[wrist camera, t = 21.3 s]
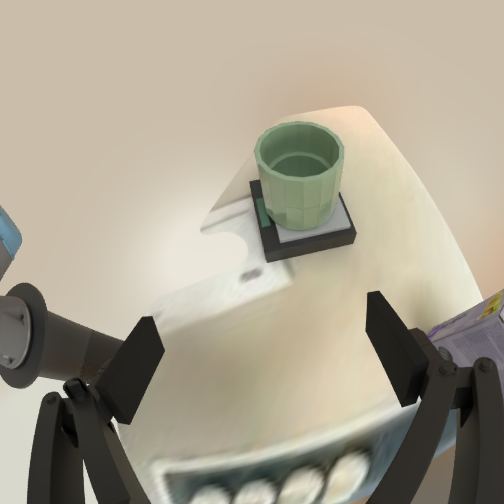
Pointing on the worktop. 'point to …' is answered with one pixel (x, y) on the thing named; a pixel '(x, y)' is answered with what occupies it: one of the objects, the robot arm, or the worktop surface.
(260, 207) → the scale
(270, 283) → the worktop surface
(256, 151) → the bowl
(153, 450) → the worktop surface
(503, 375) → the cake pan box
